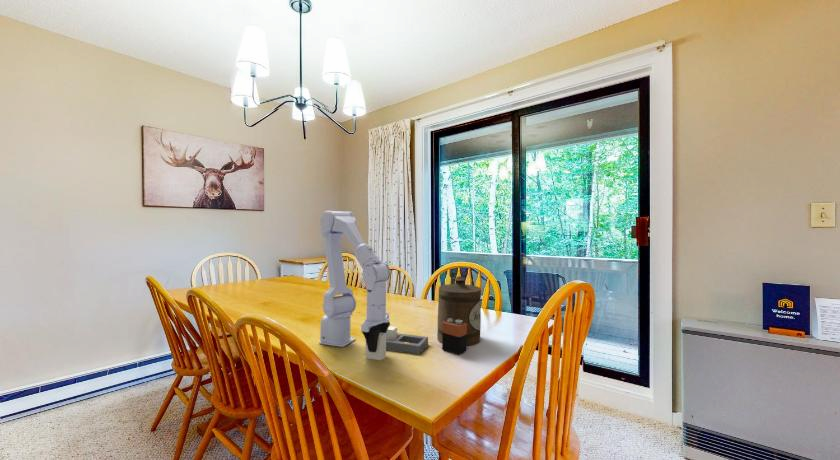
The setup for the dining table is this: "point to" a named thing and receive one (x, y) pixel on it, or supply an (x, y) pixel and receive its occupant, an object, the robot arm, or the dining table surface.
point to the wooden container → (460, 308)
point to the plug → (378, 348)
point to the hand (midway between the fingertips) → (375, 348)
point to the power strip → (404, 341)
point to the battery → (454, 336)
